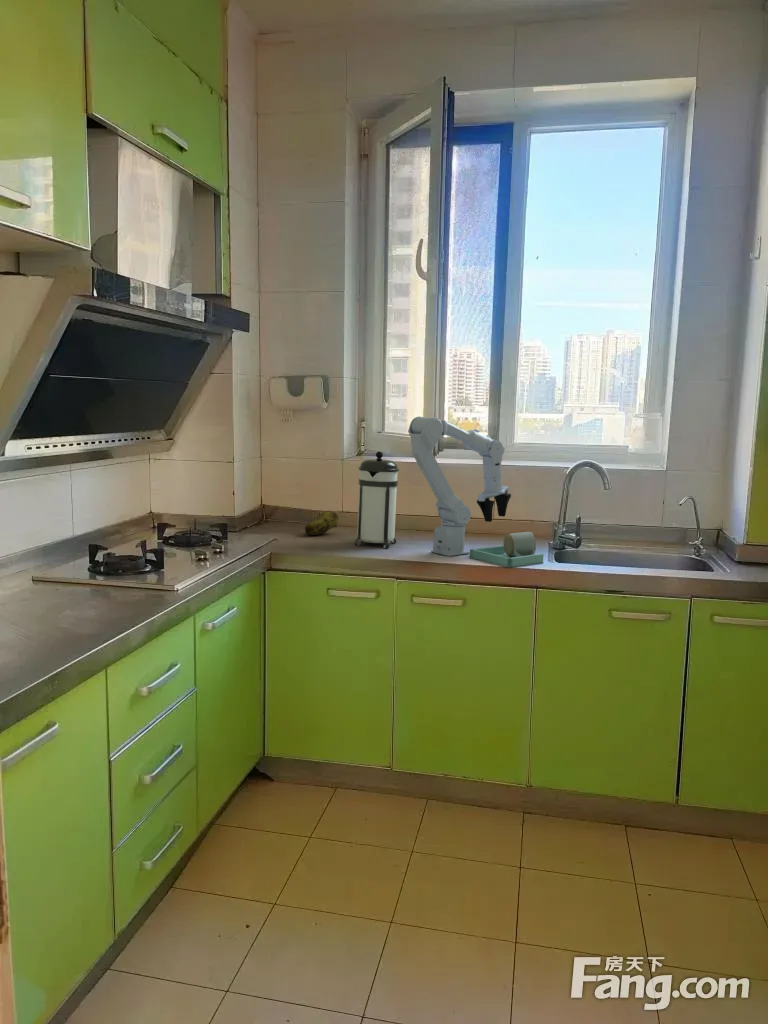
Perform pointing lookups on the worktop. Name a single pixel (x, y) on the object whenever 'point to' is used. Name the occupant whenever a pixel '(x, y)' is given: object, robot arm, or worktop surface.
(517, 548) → the ceramic mug
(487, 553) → the tray
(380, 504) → the coffee press
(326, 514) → the olive green rounded lump
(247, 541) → the worktop surface
